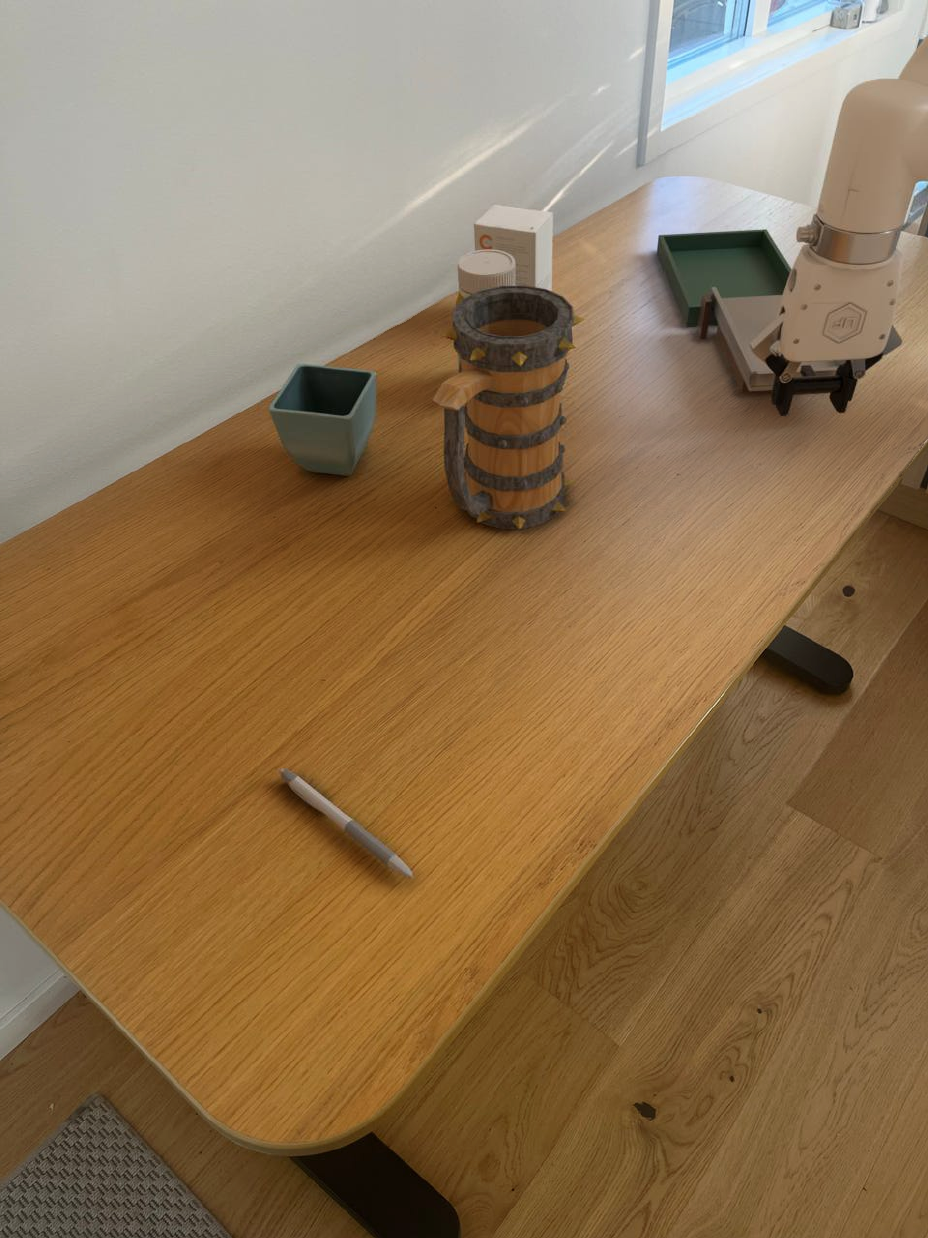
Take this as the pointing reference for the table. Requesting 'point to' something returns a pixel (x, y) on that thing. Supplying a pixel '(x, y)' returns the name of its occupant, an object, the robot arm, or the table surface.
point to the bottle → (484, 272)
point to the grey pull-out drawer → (746, 322)
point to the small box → (520, 241)
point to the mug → (507, 405)
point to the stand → (702, 334)
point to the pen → (345, 823)
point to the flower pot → (325, 416)
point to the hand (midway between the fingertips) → (808, 406)
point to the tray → (721, 267)
